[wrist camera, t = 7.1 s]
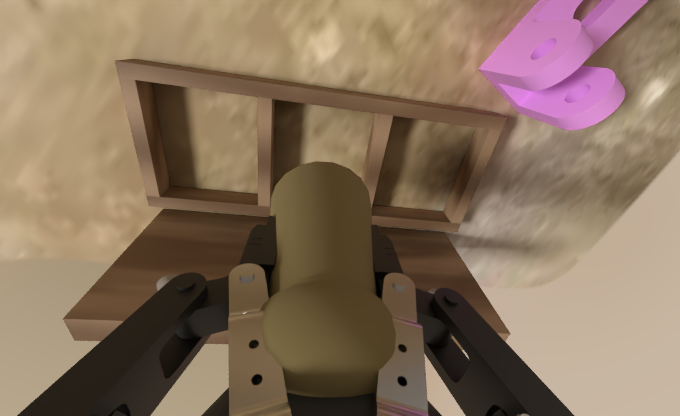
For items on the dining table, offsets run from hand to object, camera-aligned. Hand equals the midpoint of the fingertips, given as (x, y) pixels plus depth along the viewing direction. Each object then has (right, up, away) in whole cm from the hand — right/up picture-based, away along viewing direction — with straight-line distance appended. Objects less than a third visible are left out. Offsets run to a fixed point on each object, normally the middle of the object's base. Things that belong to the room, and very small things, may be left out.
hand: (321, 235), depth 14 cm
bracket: (+18, +16, +6) cm, 24 cm away
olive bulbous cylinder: (0, +1, +3) cm, 3 cm away
